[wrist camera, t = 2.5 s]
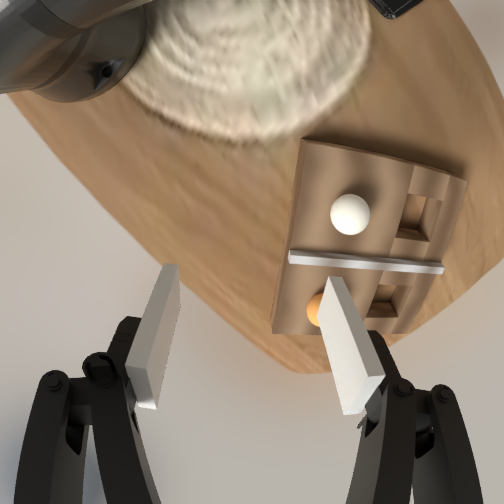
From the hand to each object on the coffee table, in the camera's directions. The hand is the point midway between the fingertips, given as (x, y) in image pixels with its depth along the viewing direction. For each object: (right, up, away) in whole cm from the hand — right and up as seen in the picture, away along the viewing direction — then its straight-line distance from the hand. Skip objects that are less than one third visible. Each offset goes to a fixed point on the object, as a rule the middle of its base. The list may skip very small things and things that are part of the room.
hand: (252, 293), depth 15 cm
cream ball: (+10, +6, +13) cm, 17 cm away
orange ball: (+8, -5, +18) cm, 21 cm away
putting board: (+14, +3, +21) cm, 25 cm away
